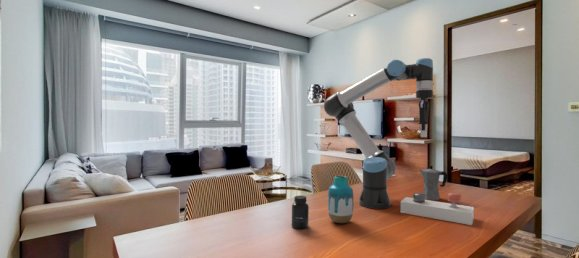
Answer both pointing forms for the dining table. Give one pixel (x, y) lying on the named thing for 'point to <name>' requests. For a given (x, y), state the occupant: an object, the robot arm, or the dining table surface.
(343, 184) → the vase
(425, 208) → the block
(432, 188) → the coffeepot
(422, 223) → the dining table surface
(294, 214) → the supplement bottle
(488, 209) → the dining table surface
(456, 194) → the red plunger
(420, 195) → the plunger
